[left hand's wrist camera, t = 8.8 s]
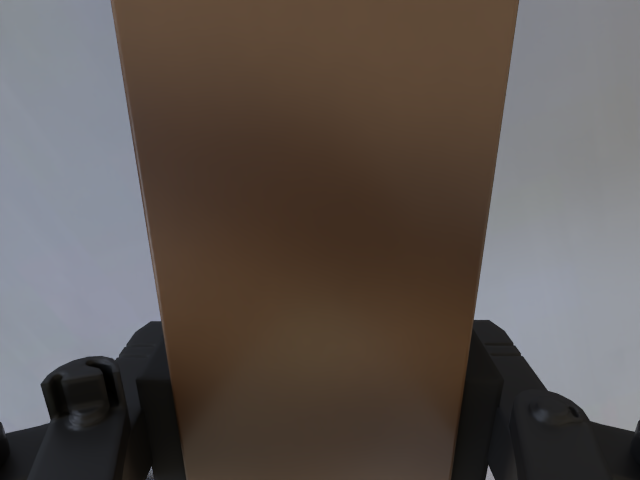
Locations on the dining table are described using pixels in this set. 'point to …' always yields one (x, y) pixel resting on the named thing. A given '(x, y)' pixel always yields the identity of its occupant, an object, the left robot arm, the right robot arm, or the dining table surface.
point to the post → (316, 222)
